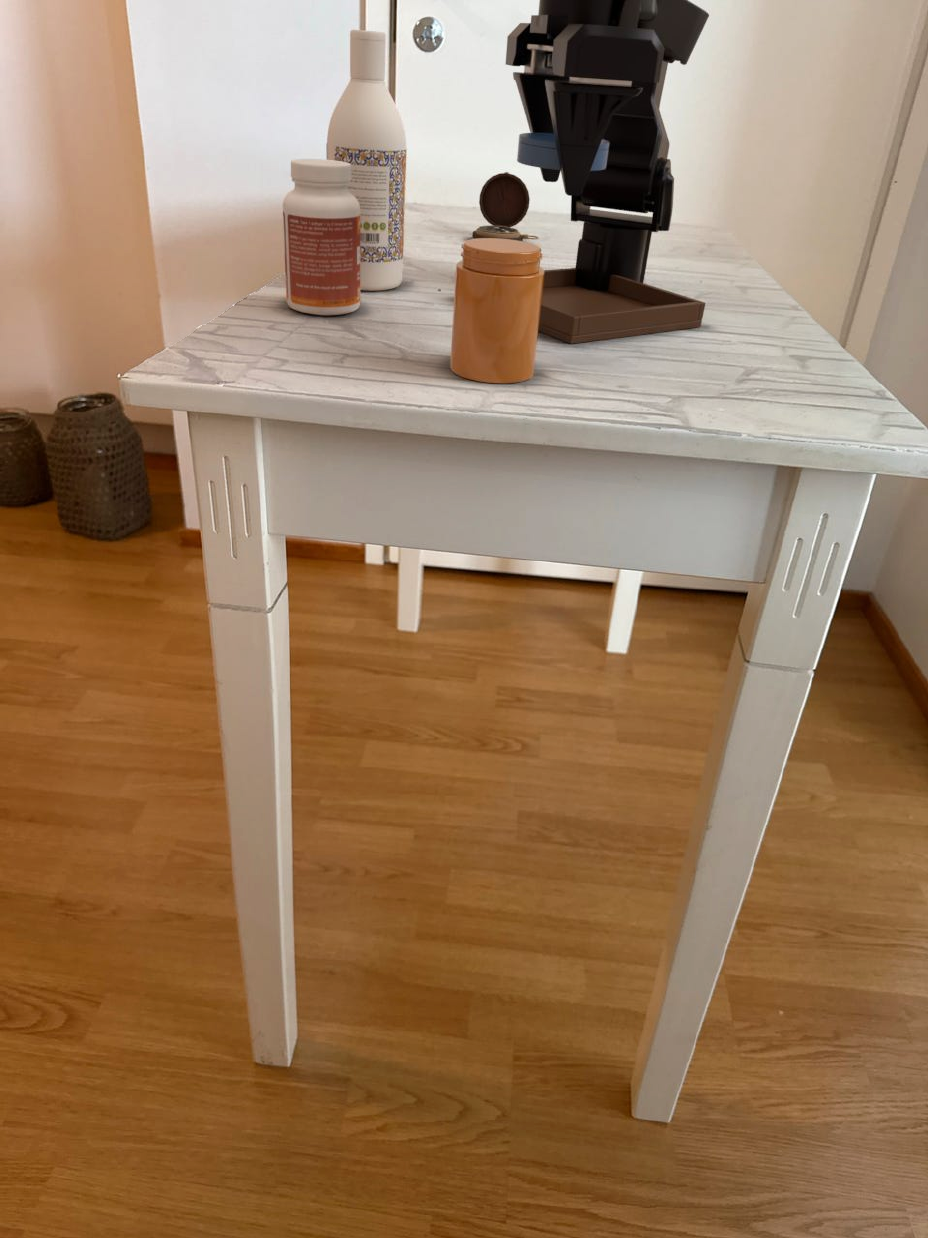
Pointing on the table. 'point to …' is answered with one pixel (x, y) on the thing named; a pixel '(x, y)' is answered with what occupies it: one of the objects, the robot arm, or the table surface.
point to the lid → (551, 152)
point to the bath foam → (372, 160)
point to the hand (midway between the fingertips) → (561, 188)
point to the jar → (496, 310)
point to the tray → (611, 309)
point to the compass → (503, 207)
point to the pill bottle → (322, 239)
